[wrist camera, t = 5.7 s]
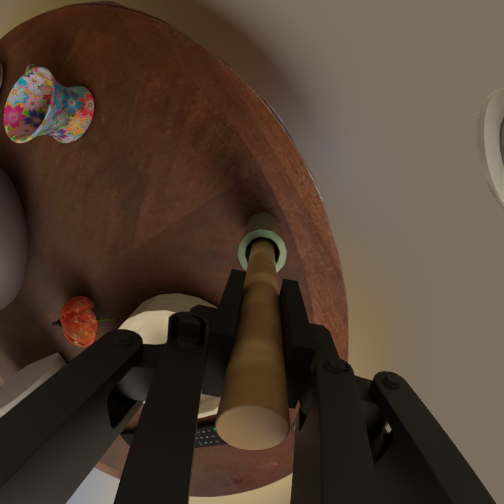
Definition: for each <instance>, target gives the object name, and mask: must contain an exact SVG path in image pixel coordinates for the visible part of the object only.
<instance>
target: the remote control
mask: <svg viewBox="0 0 504 504" xmlns="http://www.w3.org/2000/svg"><path fill="white" fill-rule="evenodd" d="M134 434H135V432H121V433H120V435H121V436H122V438H123V439H124V440H125V441H126V442H127V443H128V444H129V446H131V443H132V440H133V437H134ZM223 444H228V443H227V442H225V441H224V440H223V439H222V438H221V437H220V436H219V435H218V433H217V431H216V428H215V423H212V424H205V425H198V426H197V430H196V439H195V448H198V447H207V446H215V445H223Z"/></svg>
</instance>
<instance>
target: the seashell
mask: <svg viewBox="0 0 504 504" xmlns="http://www.w3.org/2000/svg"><path fill="white" fill-rule="evenodd" d="M2 80H3V67H2V64H1V63H0V89H1V85H2Z"/></svg>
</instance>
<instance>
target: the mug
mask: <svg viewBox="0 0 504 504" xmlns="http://www.w3.org/2000/svg"><path fill="white" fill-rule="evenodd" d="M30 68H31V70H30ZM93 114H94V99H93V96H92V94H91V93H90V91H89V90H88V89H87V88H85V87H82V86H73V87H70V88H68V87H64V86H62V85H60V84H59V83H58V82H57V81H56V80H55V79H54V77H53V75H52V73H51V72H50V71H49V70H48V69H46V68H43V67H38V66H36V65H35V64H30V65H29V66H28V67H27V68H26V73H25V74H24V75H22V76H21V77H20V79H19V80H18V81H17V82H16V84H15V85H14V87H13V88H12V90H11V92H10V94H9V96H8V99H7V102H6V105H5V110H4V127H5V131H6V133H7V135H8V137H9V138H10V139H11V140H12V141H14V142H16V143H24V142H27V141H29V140H31V139H32V138H34V137H37V136H40V135H51V136H53V137H54V138H55V139H56V140H57V141H59V142H61V143H70V142H73V141H75V140H77V139H78V138H79V137H81V136H82V135H83V134H84V132H85V131H86V130H87V128H88V127H89V125H90V123H91V120H92V118H93Z"/></svg>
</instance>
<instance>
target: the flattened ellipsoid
mask: <svg viewBox="0 0 504 504" xmlns="http://www.w3.org/2000/svg"><path fill="white" fill-rule="evenodd" d="M28 245H29V243H28V229H27V223H26V217H25V213H24V210H23V206H22V203H21V200H20V198H19V195H18V193H17V191H16V189H15V187H14V185H13V183H12V181H11V180H10V178H9V177H8V175H7V174H6V173H5V172H4V171H3V170H2V169H1V168H0V310H1V309H4V308H5V307H6V306H7V305H9V304H10V303H11V302H12V301H13V300H14V299H15V297H16V295H17V294H18V292H19V290H20V288H21V286H22V283H23V280H24V277H25V274H26V268H27V262H28Z"/></svg>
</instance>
